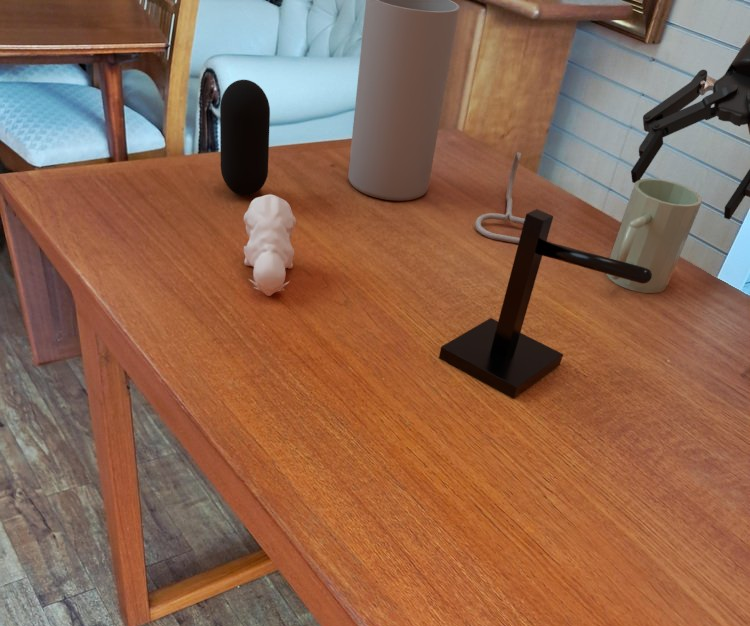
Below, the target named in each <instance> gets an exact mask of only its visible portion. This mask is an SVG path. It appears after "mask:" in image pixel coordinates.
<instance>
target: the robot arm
mask: <svg viewBox="0 0 750 626" xmlns="http://www.w3.org/2000/svg"><path fill="white" fill-rule="evenodd" d="M709 91H711V92H712V93H710V94H708V95H706V96H705V94H706V93H707V92H709ZM700 96H704V97H703V98H702V100H700V101H697V102H695V103H693V102H694V101H696V99H697V98H699V97H700ZM691 103H693V104H691ZM690 104H691V105H690ZM716 117H717V118H718V121H722V122H729V123H731V124H733V125H734V126H737V127H741V126H744V125H745V126H746V125H747V129H748V134H749V135H750V35H748V37H747V39H746V40H745V42H744V44H743V45H742V47H740V50H739V51H738V52H737V54H736V55H735V57H734V58H733V60H732V62H731V63H730V65H729V66H728V68H727V69H726V71H725V73H724V74H723V75H722V76H721V77H719V79H715V78H714V77H711V76H710V75H708V71H707V69H701V70H699V71H698V72H697V73H696V74H695V76H694V77H693V78H692V79H691V81H689V83H687V84H686V85H684V86H683V87H681V88H680V89H679V90H677V91H676V92H674V93H673V94H671V95H670V96H668V97H667V98H665V99H664V100H663V101H661V102H659V104H657V105H656V106H654V107H653V108H652V109H650V110H648V111H646V113H644V114H643V116H642V124H643V131H645V132H647V134H646V136H645V137H644V139H643V140H642V142H641V143H640V145H639V147H638V156H639V158H638V160H637V161H636V163H635V164H634V166H633V167H632V169H631V170H630V174H631V183H632V184H633V183H634V184H635V182H636V181H638V180H640V179H642V178H643V176H644V175H645V173H646V172H647V170H648V168H649V166H650V165H651V164H652V162H653V160H654V159H655V158H656V156H657V154H658V153H659V151H660V150H661V148H662V147H663V145H664V138H665V137H668V136H670V135H672V134H675V133H677V132H679V131H681V130H683V129H685V128H688V127H690V126H693V125H695V124H697V123H699V122H701V121H704V120H705V121H709V120H711V119H713V118H716ZM745 197H748V198H750V168H749V169H748V170H747V172H746V174H745V175H744V177H743V178H742V180H741V181H740V183H739V184H738V186H737V187H736V189H735V190H734V192H733V194H732V195H731V197H730V198H729V199H728V201H727V202H726V204H725V206H724V212H723V213H724V214H723V219H727V220H728V221H730V220H731V218H732V217H733V215H734V213H735V212H736V210H737V209H738V207H739V206H740V205H741V203H742V202H743V200H744V198H745Z"/></svg>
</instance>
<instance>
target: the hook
mask: <svg viewBox="0 0 750 626" xmlns="http://www.w3.org/2000/svg"><path fill="white" fill-rule="evenodd" d="M521 157H522V153H521V152H520V151H517V152H515V155H514V157H513V160H512V166H511V168H510V174H509V177H508V178H509V179H508V184H507V188H506V194H505V202H506V212H505V214H503V213H496V212H490V213H489V212H488V213H484V214H481V215H479V216H478V217H477V218H476V220H475V223H474V225H475V229H476V230H477V232H479V234H480V235H482V236H484V237H486V238H489V239H491V240H497V241H502V242H505V243H513V244H517V245H518V244H519V240H520V237H517V236H512V235H505V234H499V233H494V232H492V231H489V230H487V229H485V227H483V226H482V222H484V221H487V220H499V221H506V220H507V219H508V220H509V221H510V222H512V223H515V224H520V225H522V226H523V225H524V221H525V218H523V217H518V216H515V215H513V202H514V201H513V198H512V194H513V189H514V181H515V179H516V173H517V170H518V165H519V162H520V159H521Z"/></svg>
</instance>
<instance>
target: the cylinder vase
mask: <svg viewBox="0 0 750 626" xmlns="http://www.w3.org/2000/svg"><path fill="white" fill-rule="evenodd" d="M364 7H365V8H364V16H363V25H362V34H361V35H362V36H361V46H360V54H359V65H358V75H357V84H356V92H355V93H356V95H355V103H354V115H353V122H352V134H351V143H350V144H351V145H350V153H349V164H348V173H347V177H348V181H349V183H350V184H351V186H352V187H353V188H354V189H356V190H357V191H358V192H360V193H362V194H364V195H367V196H369V197H372V198H376V199H379V200H383V201H384V200H386V201H394V202H401V201H402V202H404V201H412V200H415V199H419V198H421V197H422V196H424V195H425V194H426V193H427V191H428V190H429V185H430V180H431V174H432V169H433V162H434V157H435V151H436V146H437V141H438V133H439V128H440V124H441V123H440V122H441V116H442V110H443V104H444V99H445V93H446V87H447V86H446V85H447V81H448V76H449V69H450V65H451V64H450V63H451V58H452V53H453V52H452V51H453V47H454V41H455V36H456V29H457V23H458V17H459V12H460V5H459V4H458V3H456V2H455V1H453V0H365V6H364Z"/></svg>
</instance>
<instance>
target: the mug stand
mask: <svg viewBox="0 0 750 626" xmlns="http://www.w3.org/2000/svg"><path fill="white" fill-rule="evenodd" d="M524 219H525V221H524V225H523V224H522V229H521V233H520V236H519V238H520V240H519V244H517V247H516V252H515V255H514V260H513V263H512V267H511V271H510V275H509V279H508V283H507V286H506V290H505V294H504V297H503V302H502V306H501V310H500V313H499V317H498V320H496V319H494V318H493V317H489V318H488V319H486V320H485V321H483V322H481V323H480V324H478V325H476V326H474V327H473V328H471V329H470V330H467V331H466V332H464V333H462V334H459V336H456V337H455V338H453V339H452V340H450V341H448V342H447V343H445V344H444V345H441V346H440V350H439V355H438V358H439V359H440V360H441V361H443V362H446V363H447V364H450V365H451V366H453V367H455V368H457V369H458V370H459V371H462V372H464V373H466V374H467V375H469V376H472V378H475V379H476V380H479V381H481V382H482V383H483V384H486V385H488V386H489V387H491V388H493V389H495V390H497V391H498V392H499V393H502V394H504V395H506V396H507V397H510V398H512V399H515V398H516V397H517V396H519V395H520V394H522V393H523V392H525V391H526V390H527V389H528V388H529V389H530V387H531V386H534V384H536V383H537V382H538V381H540V380H541V379H543V378H544V377H546V376H547V375H548V374H550V373H551V372H552V371H553V370H556V369H557V368H558V367H559V366H560V365H561V363H562V360H563V357H564V354H563V353H562V352H560V351H557V350H555V349H554V348H552V347H550V346H548V345H546V344H543V342H541V341H538V340H536V339H533V338H532V337H529V336H528V335H526V334H524V333H522V329H523V325H524V321H525V318H526V315H527V310H528V308H529V304H530V301H531V300H530V299H531V297H532V293H533V290H534V287H535V283H536V279H537V275H538V272H539V269H540V265H541V261H542V259H543V257H546V258H549V259H553V260H556V261H560V262H564V263H567V264H570V265H575V266H578V267H581V268H585V269H588V270H591V271H594V272H595V271H596V272H599V273H603V274H605V275H606V274H610V275H613V276H617V277H620V278H624V279H627V280H631V281H634V282H638V283H642V284H645V283H648V282H649V281H650V280H651V278H652V273H651V271H650V270H649V269H647V268H644V267H640V266H636V265H633V264H629V263H625V262H621V261H618V260H614V259H610V258H609V257H607V256H603V255H599V254H595V253H591V252H589V251H584V250H580V249H577V248H573V247H569V246H566V245H562V244H560V243H559V244H558V243H554V242H551V241H548V237H549V234H550V231H551V227H552V223H553V219H554V215H552V214H551V213H548V212H545V211H543V210H540V209H538V208H536V209H533V210H531V211H529V212H527V213H525V217H524Z"/></svg>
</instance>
